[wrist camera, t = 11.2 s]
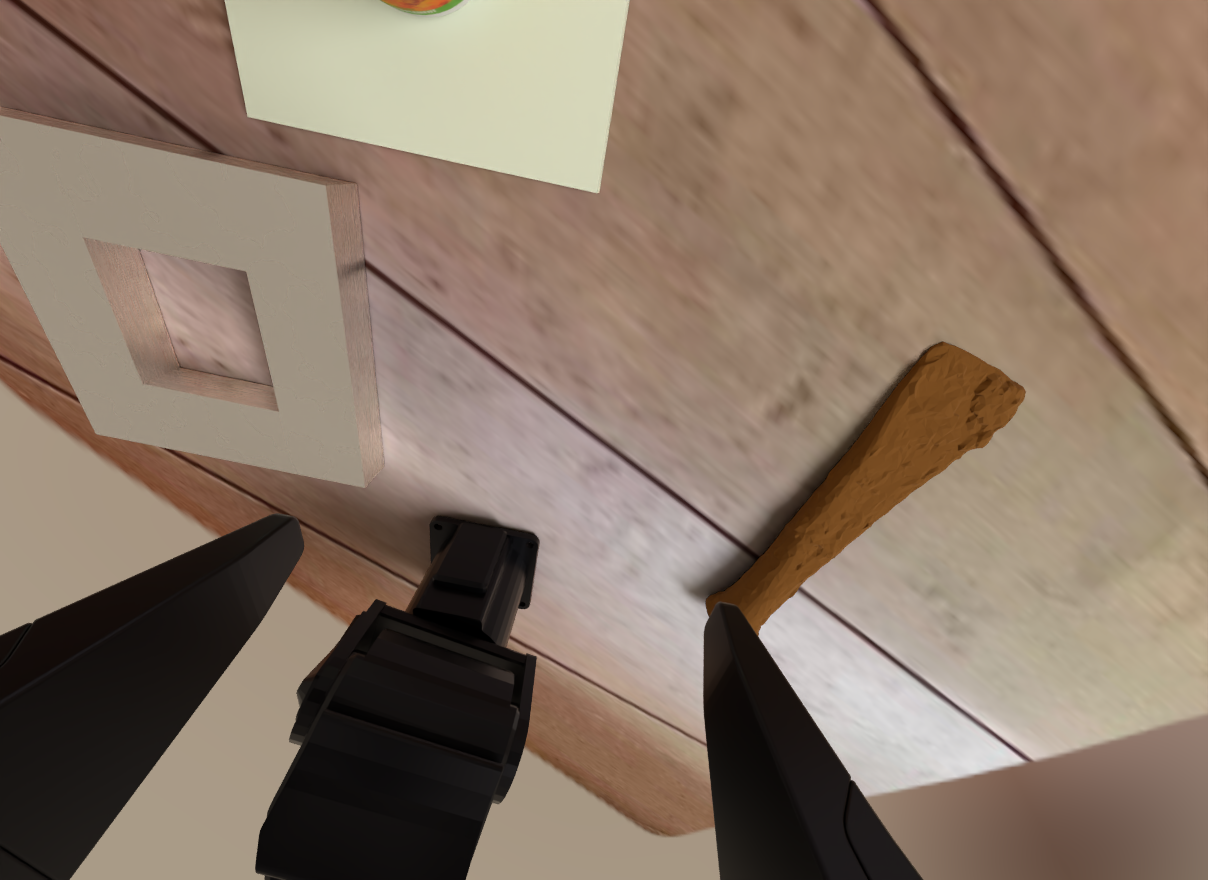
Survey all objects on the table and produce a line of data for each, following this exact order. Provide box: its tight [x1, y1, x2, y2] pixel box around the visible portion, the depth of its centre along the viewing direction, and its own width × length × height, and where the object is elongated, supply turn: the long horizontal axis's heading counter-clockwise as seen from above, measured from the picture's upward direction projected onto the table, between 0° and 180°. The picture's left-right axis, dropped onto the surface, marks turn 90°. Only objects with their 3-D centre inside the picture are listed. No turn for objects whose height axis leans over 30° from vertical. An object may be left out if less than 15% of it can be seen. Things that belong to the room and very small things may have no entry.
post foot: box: [0, 107, 384, 488], centre depth 20 cm, size 14×14×2 cm
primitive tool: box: [705, 342, 1026, 636], centre depth 23 cm, size 19×6×4 cm, turn 155°
